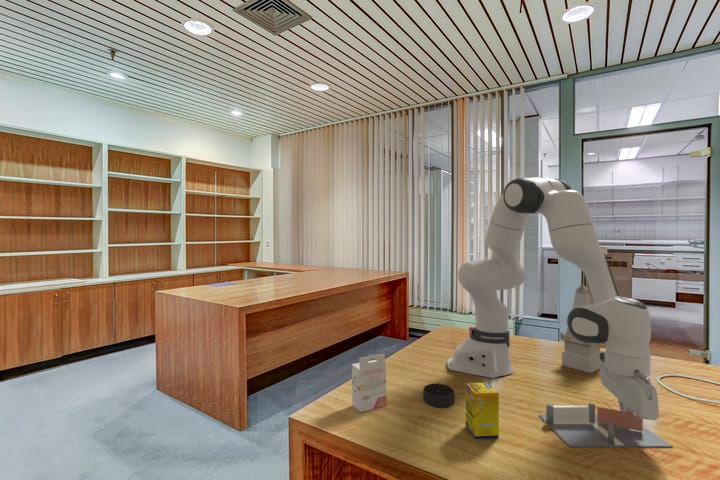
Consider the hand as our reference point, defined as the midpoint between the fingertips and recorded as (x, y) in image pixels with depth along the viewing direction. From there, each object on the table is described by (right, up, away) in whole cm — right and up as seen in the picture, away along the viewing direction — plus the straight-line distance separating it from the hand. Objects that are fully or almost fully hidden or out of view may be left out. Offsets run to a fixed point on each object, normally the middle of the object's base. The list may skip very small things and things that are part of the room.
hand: (626, 419), depth 90 cm
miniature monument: (+15, -2, +43) cm, 45 cm away
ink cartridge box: (-63, -2, +12) cm, 64 cm away
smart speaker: (-43, -2, +14) cm, 46 cm away
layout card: (-7, -2, -1) cm, 8 cm away
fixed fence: (-13, -2, -2) cm, 13 cm away
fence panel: (-2, -1, -1) cm, 3 cm away
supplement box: (-36, -2, -2) cm, 37 cm away
